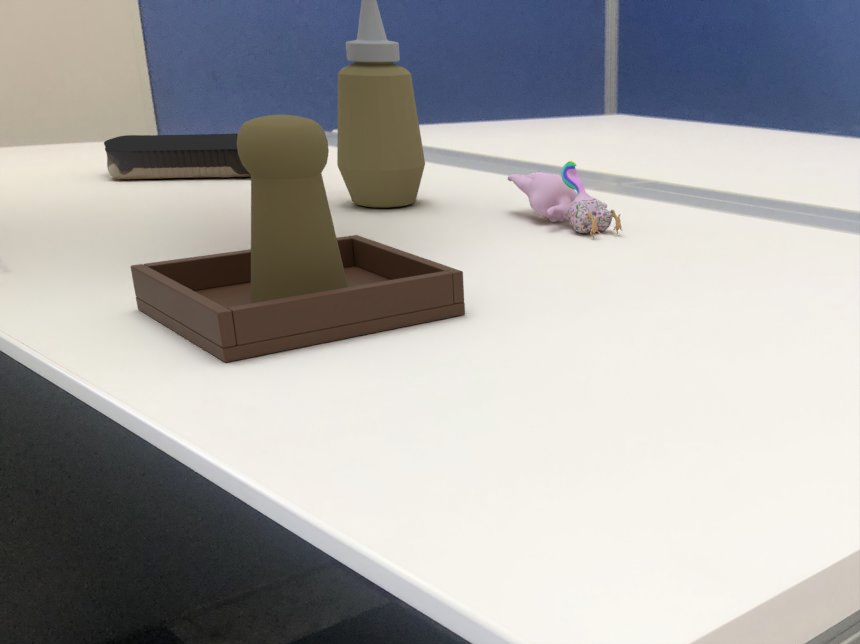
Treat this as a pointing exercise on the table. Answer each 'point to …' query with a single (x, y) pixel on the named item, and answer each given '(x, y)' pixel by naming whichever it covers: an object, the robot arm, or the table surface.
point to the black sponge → (174, 156)
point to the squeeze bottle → (377, 120)
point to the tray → (295, 300)
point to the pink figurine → (565, 200)
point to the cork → (289, 208)
